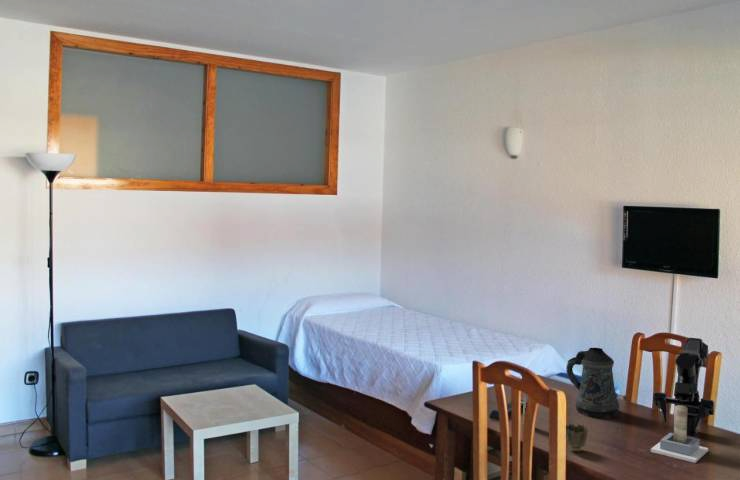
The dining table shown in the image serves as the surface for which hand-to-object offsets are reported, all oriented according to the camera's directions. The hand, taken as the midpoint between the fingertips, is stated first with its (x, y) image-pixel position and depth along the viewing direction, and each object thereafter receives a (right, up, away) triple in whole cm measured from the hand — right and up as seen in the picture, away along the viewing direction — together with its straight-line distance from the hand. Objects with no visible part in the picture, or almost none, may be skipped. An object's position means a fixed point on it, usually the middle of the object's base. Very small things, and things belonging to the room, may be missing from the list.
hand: (680, 425), depth 230 cm
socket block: (0, -9, +1) cm, 9 cm away
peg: (0, -8, +1) cm, 8 cm away
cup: (-35, -9, +1) cm, 36 cm away
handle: (-45, -7, +24) cm, 51 cm away
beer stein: (-15, -6, +43) cm, 46 cm away
